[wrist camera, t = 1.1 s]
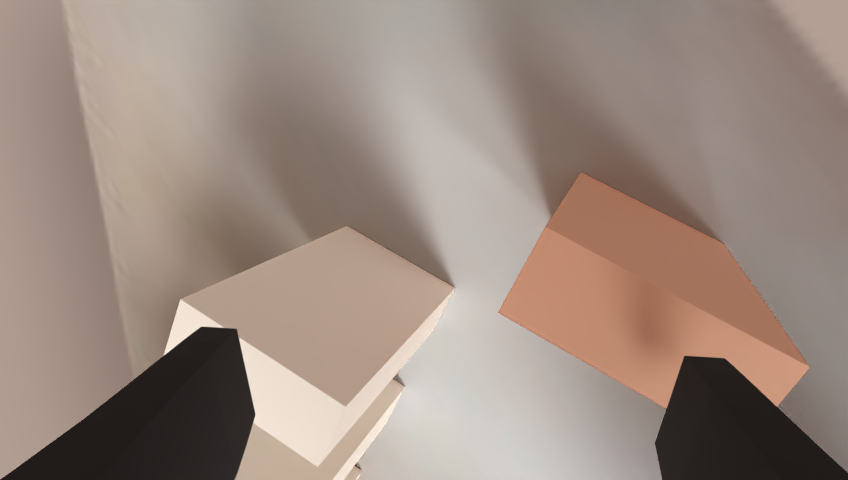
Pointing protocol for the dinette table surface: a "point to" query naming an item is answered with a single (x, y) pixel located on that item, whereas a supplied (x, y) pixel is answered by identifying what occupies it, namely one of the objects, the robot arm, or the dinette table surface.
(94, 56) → the dinette table surface
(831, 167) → the dinette table surface
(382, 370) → the domino
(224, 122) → the dinette table surface
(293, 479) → the domino
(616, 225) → the terracotta domino
